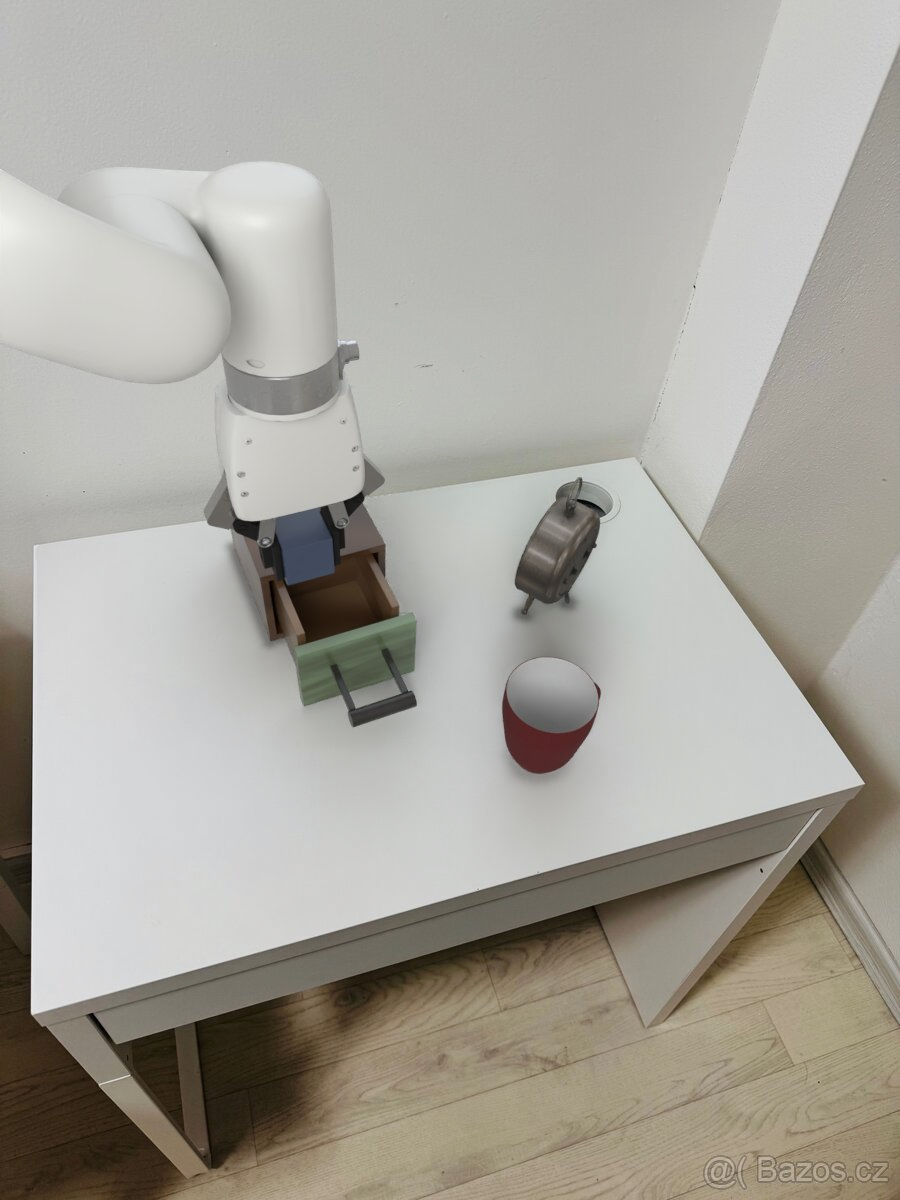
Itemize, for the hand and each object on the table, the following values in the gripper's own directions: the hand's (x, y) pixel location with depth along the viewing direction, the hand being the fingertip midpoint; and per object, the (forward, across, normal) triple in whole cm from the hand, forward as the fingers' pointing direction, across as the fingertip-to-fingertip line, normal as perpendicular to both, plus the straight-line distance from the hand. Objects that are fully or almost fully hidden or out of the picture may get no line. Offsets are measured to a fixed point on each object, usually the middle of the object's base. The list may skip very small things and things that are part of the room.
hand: (303, 559), depth 69 cm
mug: (+18, -18, +15) cm, 29 cm away
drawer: (+17, -3, -1) cm, 17 cm away
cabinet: (+18, -3, -14) cm, 23 cm away
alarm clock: (+18, -28, -2) cm, 33 cm away
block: (0, 0, 0) cm, 0 cm away
